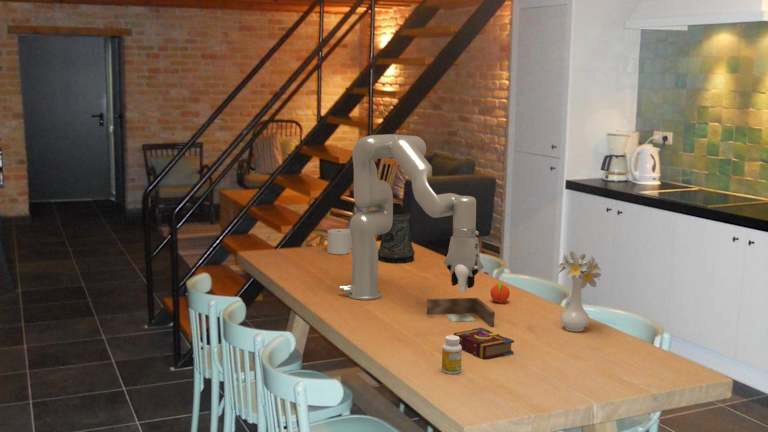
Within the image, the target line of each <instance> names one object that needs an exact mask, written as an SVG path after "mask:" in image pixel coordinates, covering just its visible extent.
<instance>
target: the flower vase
mask: <svg viewBox="0 0 768 432" xmlns="http://www.w3.org/2000/svg"><path fill="white" fill-rule="evenodd" d="M569 255H570V257H571V258H569V257H568V255H566V254H564V255H563V256H562V257H563V258H562V261H563V262H561V263H559V264H558V266H557V269H559V270H558V271H557V273H556V275H559V274H560V273H561V272H563V271H565V270H566V269H567V270H569V271H567V272H566V274H565V277H566V279H570V278H571V283H572V287H571V288H572V289H571V297H570V302H569V305H568V307H567V308H566V309H565V310H563V312H562V313H561V315H560V322H561V324H562V325H563V326H564V329H565V330H566V331H569V332H574V333H576V332H583V331H585V328H586V327H587V326H588V325H589V324H590V320H591V319H590V316H589V315H588V313H587V312H586V310H585V309H584V307H583V303H582V290H583V289H585V288H586V287H587V285H588V284H589V286H590V287H593V288H596V287H597V281H596V280H595V279H597V280H598V281H600V280H601V278H600V277H601V275H602V273H601V270H602V269H601V267H599V263H598V262H597V261H596V259H595V257H594V256H593V255H592V254H591V255H590V259H588V260H587V261H584V260H585V258H586V256H587V255H586V254H585V253H581V254H579V255H578V256H577V254H576V253H575V252H574V251H573V250H570V251H569Z"/></svg>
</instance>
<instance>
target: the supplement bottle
mask: <svg viewBox="0 0 768 432" xmlns="http://www.w3.org/2000/svg"><path fill="white" fill-rule="evenodd" d="M444 342H445V343H444V344H443V345H442V352H441V353H442V355H441V356H442V358H441V371H442V372H443V373H445V374H450V375H452V374H453V375H454V374H459V373H461V371H462V360H463V359H462V357H463V354H462V353H463V350H462V347H461V345H460V344H459V342H460V337H458V336H454V334H451V335H450V334H449V335H446V336H445V341H444Z"/></svg>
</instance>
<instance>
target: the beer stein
mask: <svg viewBox="0 0 768 432" xmlns="http://www.w3.org/2000/svg"><path fill="white" fill-rule="evenodd" d="M410 218H411V214H410V212H409V211H408V210H406V209H405V207H403V206H402V203H397V202H393V223H392V227H391V229H390V230H389V231H388V232H387V233H384V234H381V235H376V236H377V238H378V239H379V240H380V244H379V246H378V261H379V260H380V261H379V262H382V263H386V264H395V265H396V264H397V265H399V264H400V265H402V264H408V263H412V262H414V261H415V250H414V248H413V247H414V246H413V244H412V237H411V231H410V229H411V227H410V222H409V221H410Z"/></svg>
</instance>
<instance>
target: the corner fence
mask: <svg viewBox="0 0 768 432" xmlns="http://www.w3.org/2000/svg"><path fill="white" fill-rule="evenodd" d="M471 313H474V314H475V315H477V316H478V318H480V319H481V320H482V321H483V322H485V324H486V325H488V326H489V327H490V328H494V327H495V313H496V312H495V311H494V310H493V309H491V307H489V306H488V305H487V304H486V303H484V302H483V301H482V300H481V299H480V298H478V297H461V298H460V297H459V298H457V297H455V298H433V299H432V298H431V299H430V298H429V299H428V298H427V300H426V315H444V314H445V316H446V317H447V318H448V319H449V320H450V321H452V323H459V322H460V323H463V322H476V319H475V318H474V317H473V316H472V315H470V314H471Z"/></svg>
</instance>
